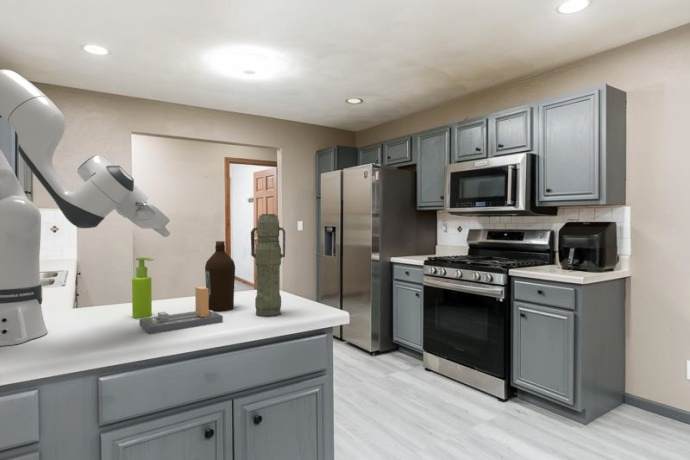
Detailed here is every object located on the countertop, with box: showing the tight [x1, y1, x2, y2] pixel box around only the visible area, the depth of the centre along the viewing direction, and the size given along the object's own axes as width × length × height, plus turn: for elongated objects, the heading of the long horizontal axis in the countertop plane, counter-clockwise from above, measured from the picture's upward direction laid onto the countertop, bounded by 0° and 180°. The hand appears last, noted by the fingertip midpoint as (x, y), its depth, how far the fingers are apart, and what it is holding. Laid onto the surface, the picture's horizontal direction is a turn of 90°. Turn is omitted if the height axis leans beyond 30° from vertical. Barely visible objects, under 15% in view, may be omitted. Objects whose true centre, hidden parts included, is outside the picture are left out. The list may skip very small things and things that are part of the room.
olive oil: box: [204, 240, 236, 313], centre depth 153 cm, size 11×11×25 cm
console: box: [138, 310, 224, 335], centre depth 132 cm, size 22×12×4 cm, turn 129°
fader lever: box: [194, 286, 209, 317], centre depth 134 cm, size 2×5×9 cm, turn 39°
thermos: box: [250, 213, 286, 318], centre depth 145 cm, size 9×12×35 cm
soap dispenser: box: [131, 257, 154, 319], centre depth 141 cm, size 6×7×20 cm
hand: (167, 235), depth 129 cm, fingers closed
